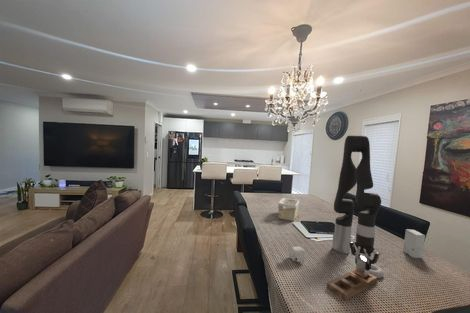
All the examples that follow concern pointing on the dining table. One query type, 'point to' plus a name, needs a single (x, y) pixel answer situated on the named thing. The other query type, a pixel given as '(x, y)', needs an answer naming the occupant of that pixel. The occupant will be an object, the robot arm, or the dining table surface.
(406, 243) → the skincare box
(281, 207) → the storage basket
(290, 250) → the elephant figurine
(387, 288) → the dining table surface
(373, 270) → the donut
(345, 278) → the wooden compartment tray
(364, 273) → the silver metal block
